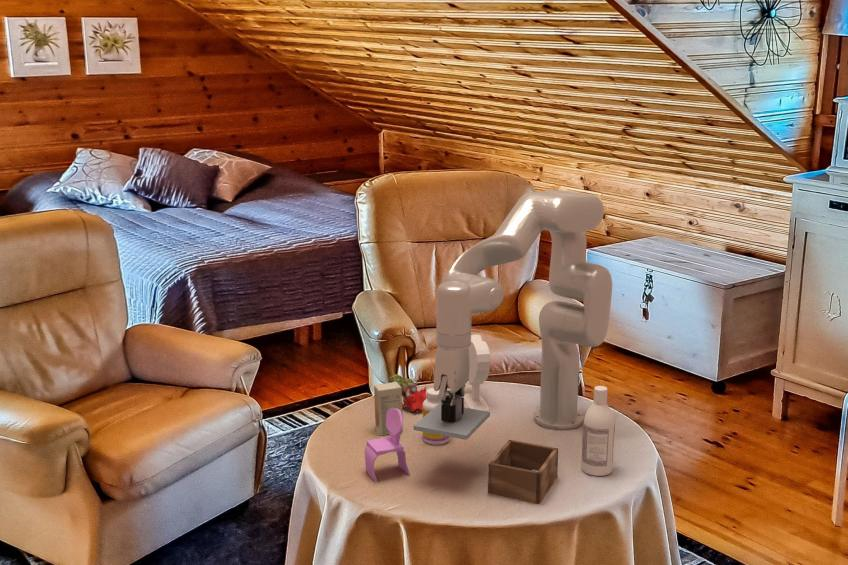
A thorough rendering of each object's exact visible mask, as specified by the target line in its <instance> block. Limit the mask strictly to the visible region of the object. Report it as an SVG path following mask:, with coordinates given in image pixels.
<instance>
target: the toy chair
mask: <svg viewBox="0 0 848 565" xmlns="http://www.w3.org/2000/svg"><path fill="white" fill-rule="evenodd" d="M402 418H403V413H402V414H401V411H400V410H399V409H395V408H392V409H389V410H388V411H387V415H386V427H387V429H388V430H389V432H390V433H391V434H390V435H389V436H385V437H382V438H375V439H368V440H366V445H365V446H364V461H365V471H366V473H368V475H369V476H370V477H371V478H372V480H374V482H375V483H378V480H377V477H376V473H375V469H374V468H375V467H374V466H375V462H376V460H377V458H378V457H379V456H382V455H386V454H389V453H396V455H397V464H398V466H399V467H400V469H402V470H403V471H404V472H405V473H406V474H407V476H411V474H410V471H409V467H408V464H407V460H406V459H407V458H406V456H407V455H406V451H405V450H404V449H405V448H404V445H402V444H401V443H400V440H401V433H402V432H401V431H402Z"/></svg>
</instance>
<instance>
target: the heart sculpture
mask: <svg viewBox="0 0 848 565" xmlns="http://www.w3.org/2000/svg"><path fill="white" fill-rule="evenodd" d="M469 362H470V369H469V379H468V383H469V384H468V385H469V386H471V392H468V393H466V392H465V395H464V397H463V398H464V402H465V403H466V404H467V406H468V407H469V408H470V409H476V410H482V411H489V410H490V409H491V408H490V407H489V406H488V404H487V402H485V400H484V399H483V397H482V396H481V394H480V391H481V390H480V386H481V385H482V384H484V383H485V381H486V382H487V380H488V378H489V375H490V370H491V369H490V368H491V353H490V348H489V346H488V344H487V342H486V341H485V340H483V339H482V336H481V334H471V346H470V347H469Z"/></svg>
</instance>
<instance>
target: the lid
mask: <svg viewBox="0 0 848 565" xmlns="http://www.w3.org/2000/svg"><path fill="white" fill-rule="evenodd" d="M446 395H447V396H449V397H450V399H451V394H446ZM454 405H456V421H455V422H454V423H452V422H447V421H442V420H441V403H439V404H438V405H437V406H436V407H435V408H434V409H432V410H431V411H430V412H429V413H428V414H427V415H425V416H424V417H423V416H422V418H421V419H420V420H418V421H417V422H416V423H415V424H414V425H413V431H417V432H422V433H423V432H427V433H432V434H437V435H443V436H448V437H449V438H454V439H459V440H465V441H467V440H469V438H471V436H472V435H473V434H474V433H475V432H476V431H477V430H478V429H479V428H480V427H481V426H482V425H483V424H484V423H485V422H486V421H487V420H488V419H489V418H490V416H491V411H489V410H487V411H482V410H476V409H470V407H469V408H468V407H465V406H464V413H463V415H462V397H461V396H460V395H456V394H455V400H454Z"/></svg>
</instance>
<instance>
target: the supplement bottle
mask: <svg viewBox="0 0 848 565" xmlns="http://www.w3.org/2000/svg"><path fill="white" fill-rule="evenodd" d="M438 394H439V390H438V391H435V390H434V387H431V388H428V389H426V396H427V398H426V400H424V402H423V410H422V418H423V417H424V416H425V415H427V414H428V413H429V412H430V411H431V410H432V409H434V408H435V407H436V406H437V405H438V404H439V403H441V400H440V399H439V398H438ZM422 440H423V442H424V443H426V444H429V445H433V446H435V445H437V446H439V445H443V444H446V443H448V442H449V441H450V437H448V436H443V435H437V434H432V433H427V432H422Z"/></svg>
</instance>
